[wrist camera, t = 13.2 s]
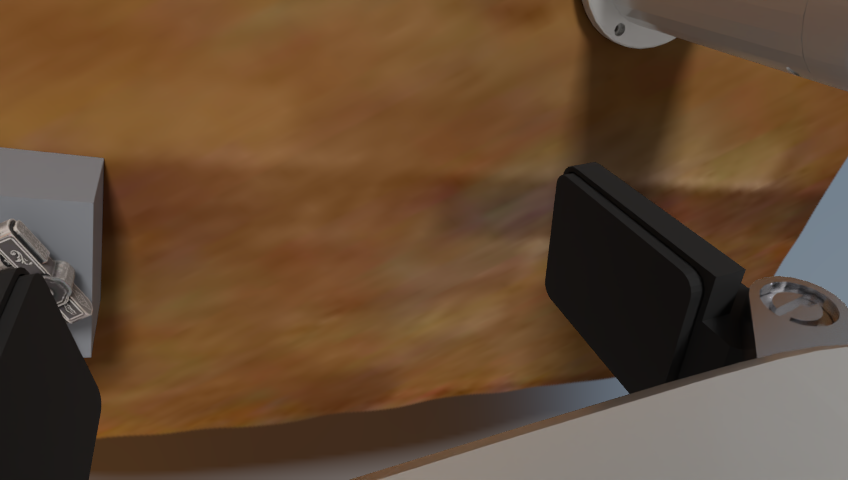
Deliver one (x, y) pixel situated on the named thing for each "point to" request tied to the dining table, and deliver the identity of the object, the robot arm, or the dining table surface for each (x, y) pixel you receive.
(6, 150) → the gray block
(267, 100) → the dining table surface
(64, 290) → the lighter
